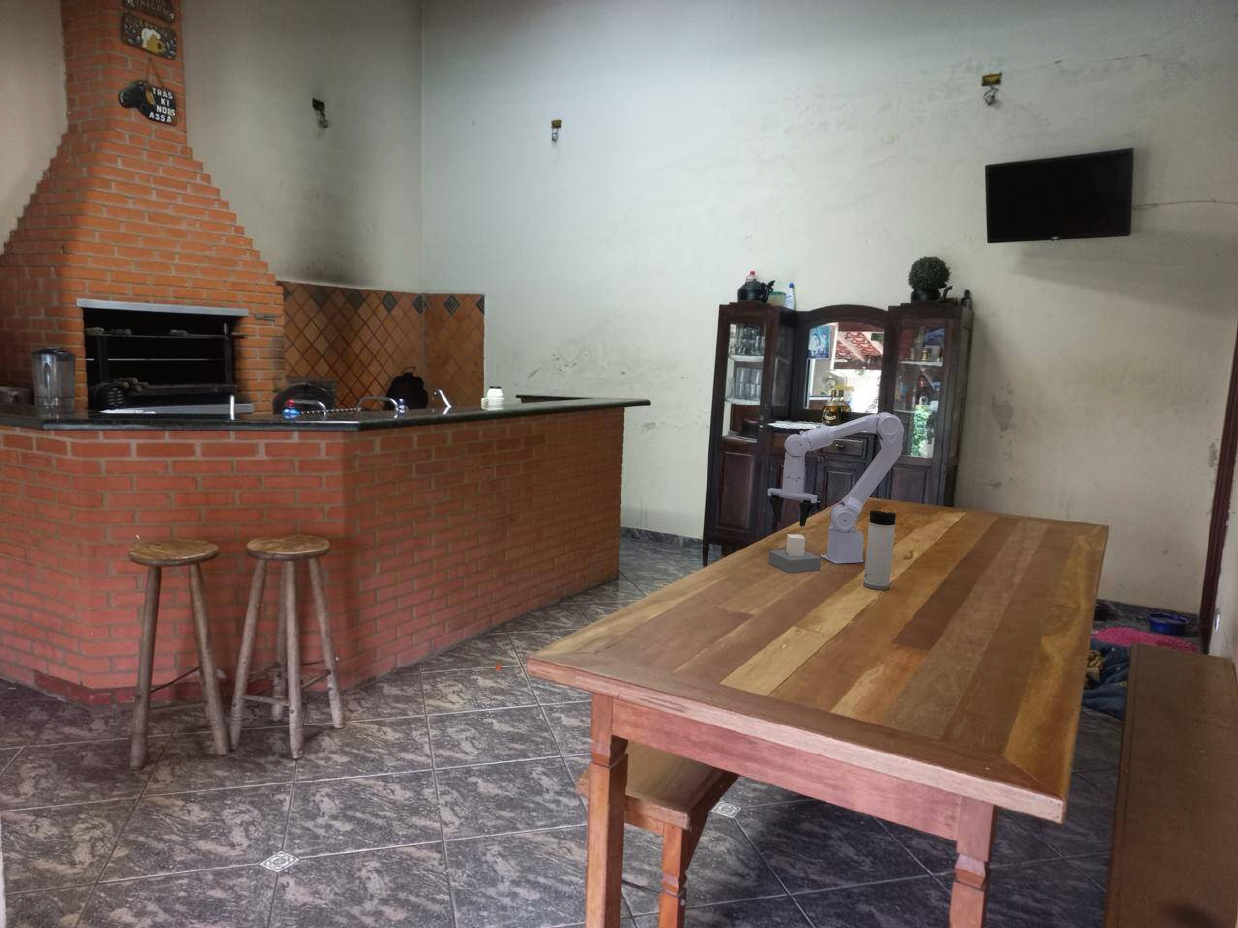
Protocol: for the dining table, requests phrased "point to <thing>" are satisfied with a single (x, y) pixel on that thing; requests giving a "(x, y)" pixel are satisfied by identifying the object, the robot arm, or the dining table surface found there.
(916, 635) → the dining table surface
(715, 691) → the dining table surface
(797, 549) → the top block
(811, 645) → the dining table surface
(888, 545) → the travel mug
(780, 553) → the base block
